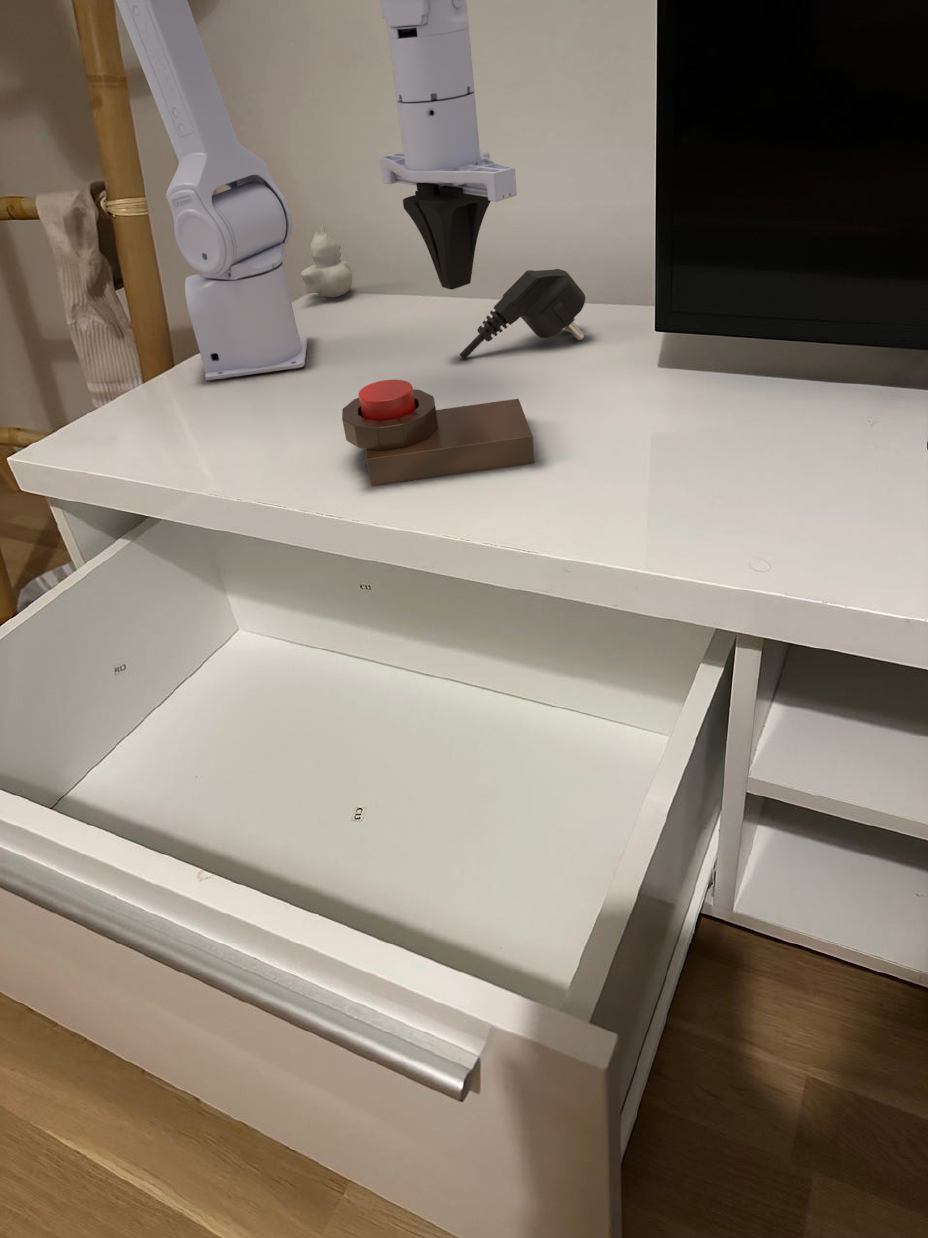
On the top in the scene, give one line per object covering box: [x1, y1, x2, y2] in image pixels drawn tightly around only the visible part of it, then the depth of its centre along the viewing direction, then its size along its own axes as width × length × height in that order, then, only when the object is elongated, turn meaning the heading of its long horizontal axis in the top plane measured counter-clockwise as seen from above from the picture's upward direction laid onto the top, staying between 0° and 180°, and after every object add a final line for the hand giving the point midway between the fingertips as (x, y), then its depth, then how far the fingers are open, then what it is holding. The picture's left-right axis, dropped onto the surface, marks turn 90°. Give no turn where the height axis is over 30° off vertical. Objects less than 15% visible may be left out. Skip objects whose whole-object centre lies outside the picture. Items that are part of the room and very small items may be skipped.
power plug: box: [458, 268, 586, 360], centre depth 86 cm, size 6×8×12 cm
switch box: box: [341, 388, 535, 487], centre depth 69 cm, size 13×8×4 cm, turn 96°
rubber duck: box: [300, 222, 353, 298], centre depth 103 cm, size 5×7×8 cm
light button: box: [358, 379, 416, 421], centre depth 68 cm, size 4×4×2 cm
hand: (456, 285), depth 75 cm, fingers closed
